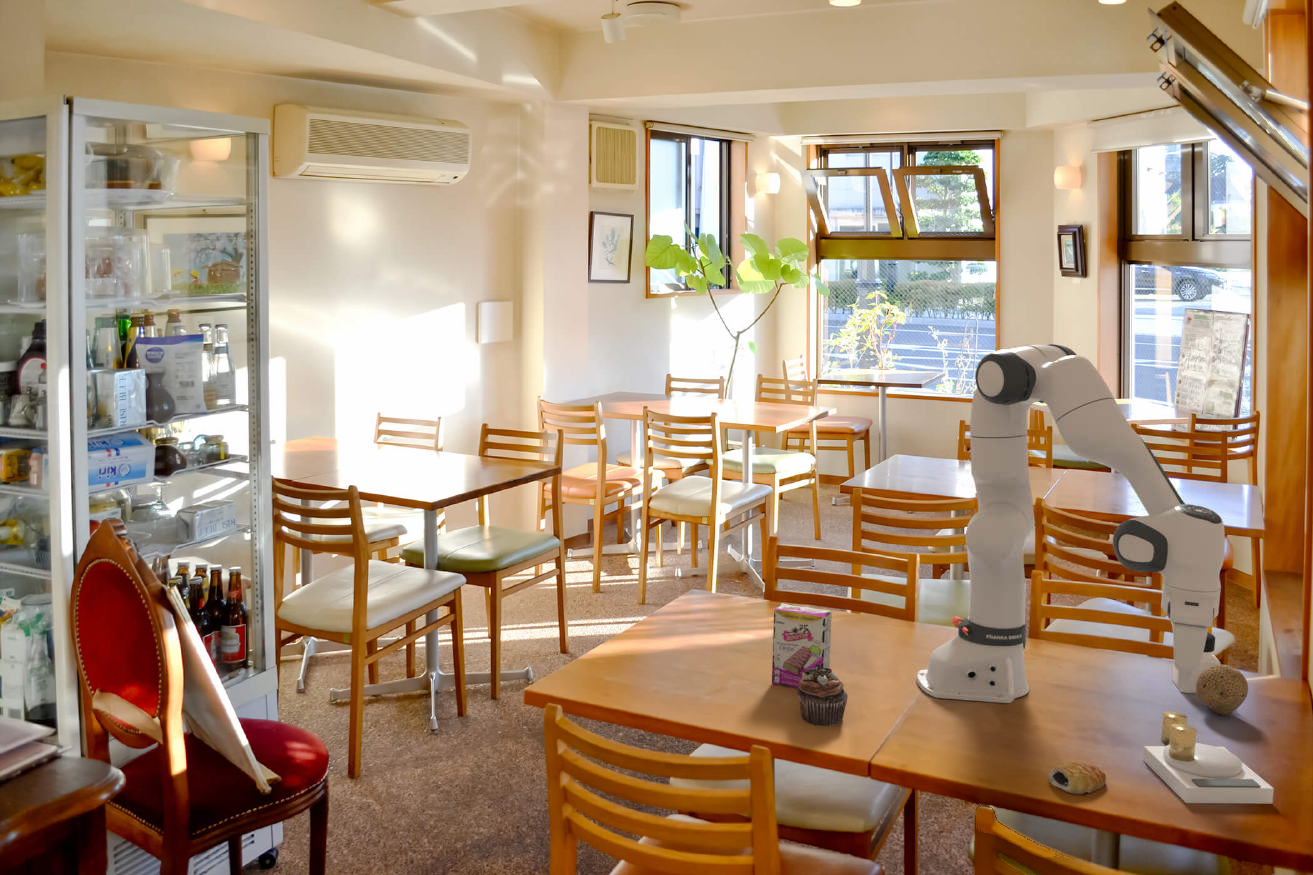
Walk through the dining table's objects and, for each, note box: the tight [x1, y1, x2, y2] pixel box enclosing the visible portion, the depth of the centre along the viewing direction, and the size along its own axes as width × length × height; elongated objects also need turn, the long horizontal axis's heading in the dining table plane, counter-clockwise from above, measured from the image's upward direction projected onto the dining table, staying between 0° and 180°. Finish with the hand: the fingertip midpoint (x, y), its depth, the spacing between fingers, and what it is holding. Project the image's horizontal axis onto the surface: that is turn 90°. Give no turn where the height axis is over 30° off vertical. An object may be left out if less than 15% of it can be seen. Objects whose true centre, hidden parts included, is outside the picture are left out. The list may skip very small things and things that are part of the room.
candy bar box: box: [771, 603, 832, 689], centre depth 228 cm, size 11×5×16 cm, turn 65°
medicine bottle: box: [1172, 631, 1222, 694], centre depth 228 cm, size 7×7×12 cm
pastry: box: [1047, 761, 1107, 795], centre depth 185 cm, size 9×7×4 cm
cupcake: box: [796, 665, 849, 727], centre depth 211 cm, size 10×10×10 cm
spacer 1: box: [1160, 711, 1188, 746], centre depth 202 cm, size 4×4×5 cm
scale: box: [1142, 742, 1274, 805], centre depth 186 cm, size 14×16×4 cm
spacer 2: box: [1169, 724, 1197, 762], centre depth 187 cm, size 4×4×5 cm
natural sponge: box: [1195, 664, 1249, 716], centre depth 214 cm, size 9×9×10 cm
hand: (1182, 678), depth 190 cm, fingers open, 8 cm apart
